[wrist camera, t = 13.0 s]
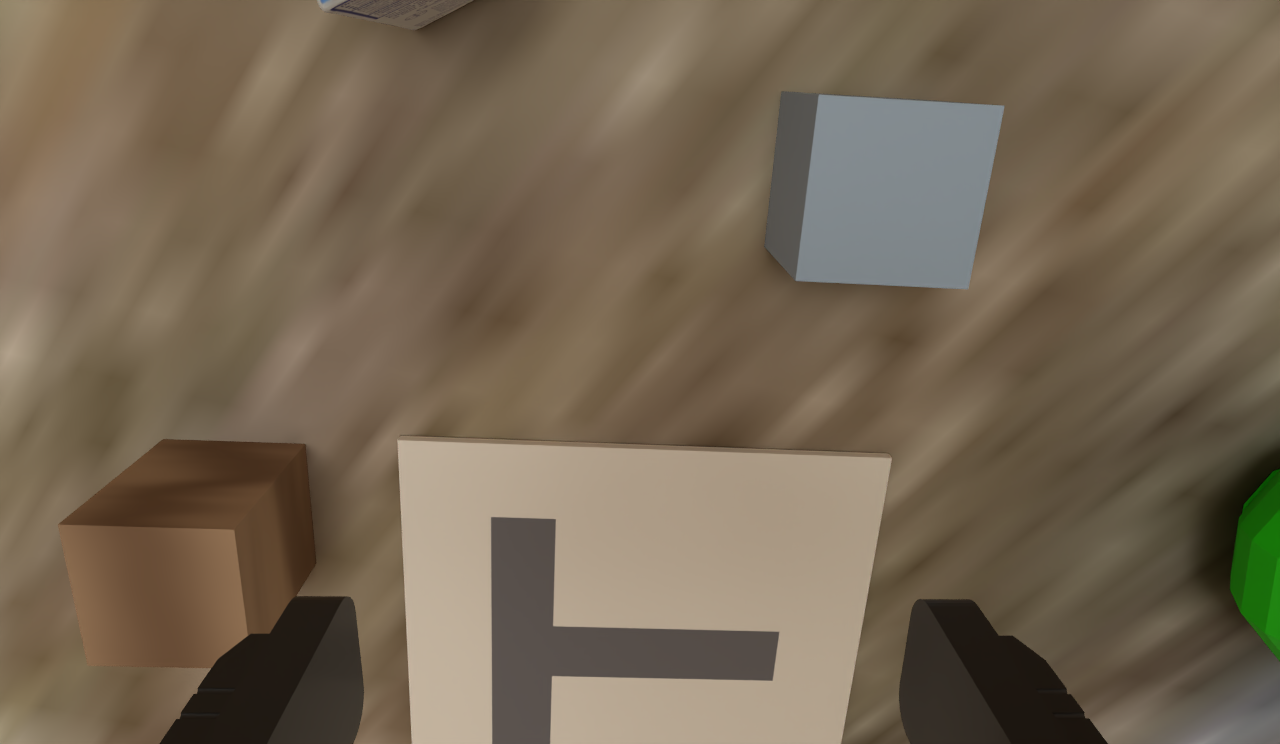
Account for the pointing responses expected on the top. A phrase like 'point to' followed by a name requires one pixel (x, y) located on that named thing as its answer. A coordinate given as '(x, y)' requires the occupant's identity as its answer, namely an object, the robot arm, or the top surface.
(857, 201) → the slate cube
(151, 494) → the walnut block
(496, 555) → the board
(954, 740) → the robot arm
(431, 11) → the medicine box
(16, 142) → the top surface
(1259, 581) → the plastic bottle
